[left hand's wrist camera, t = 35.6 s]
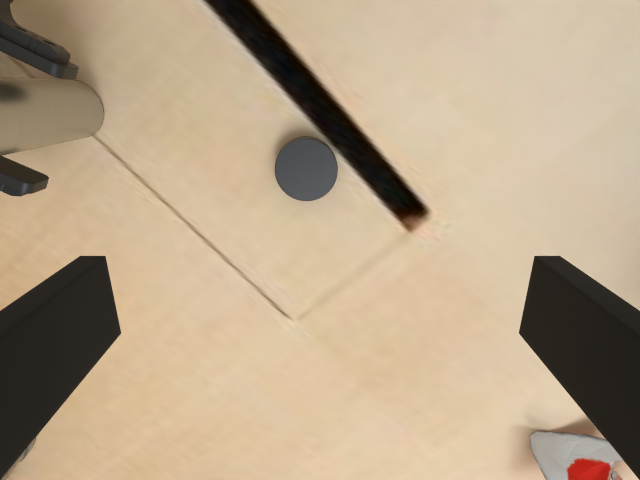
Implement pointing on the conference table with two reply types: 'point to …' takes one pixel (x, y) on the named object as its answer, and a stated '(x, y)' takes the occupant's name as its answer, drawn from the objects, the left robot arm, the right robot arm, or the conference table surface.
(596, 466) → the fish
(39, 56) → the right robot arm
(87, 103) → the jar
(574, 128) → the conference table surface
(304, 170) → the lid
